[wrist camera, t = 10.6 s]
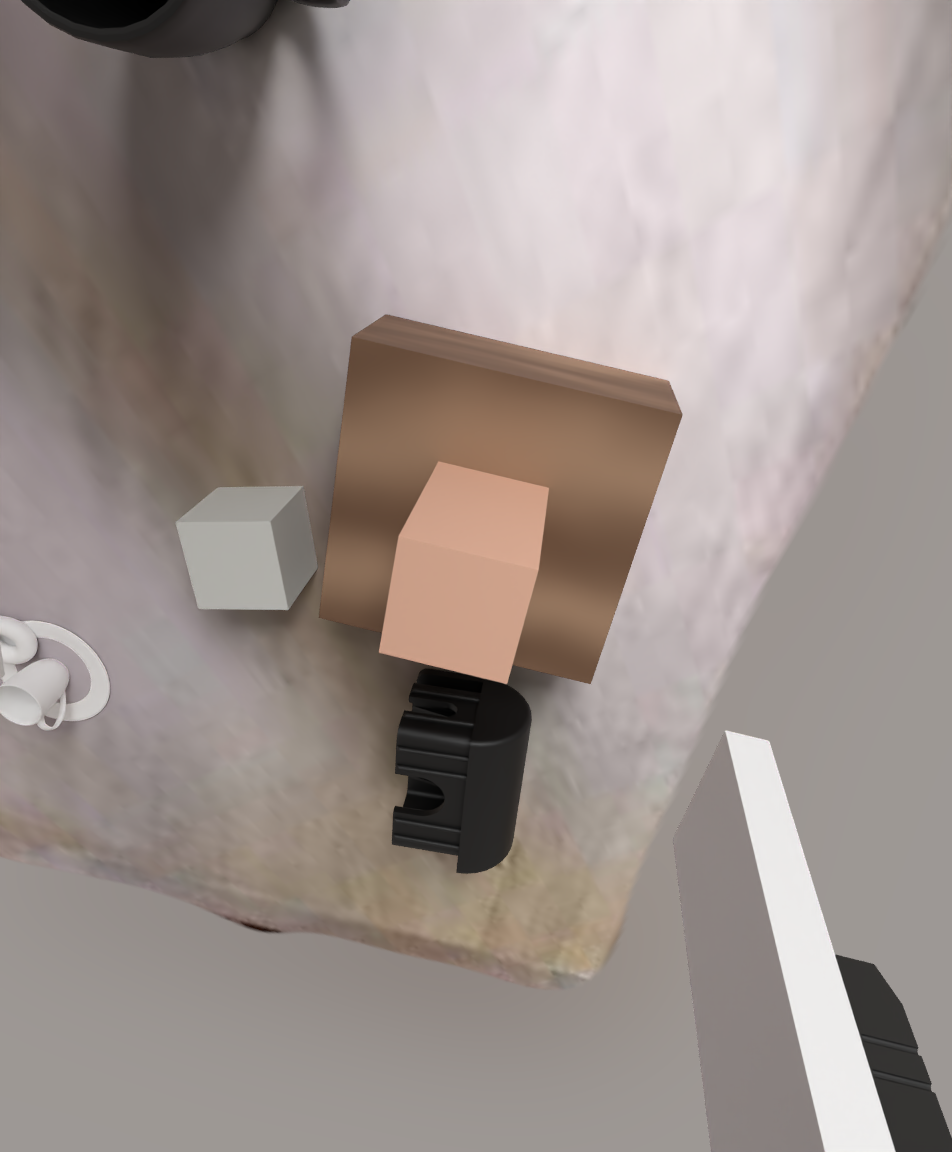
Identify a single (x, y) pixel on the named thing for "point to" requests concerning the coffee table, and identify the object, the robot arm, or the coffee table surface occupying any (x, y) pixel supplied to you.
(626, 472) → the walnut block
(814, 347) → the coffee table surface
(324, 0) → the mug
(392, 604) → the terracotta block
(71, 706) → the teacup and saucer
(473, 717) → the end cap
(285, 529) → the grey cube
